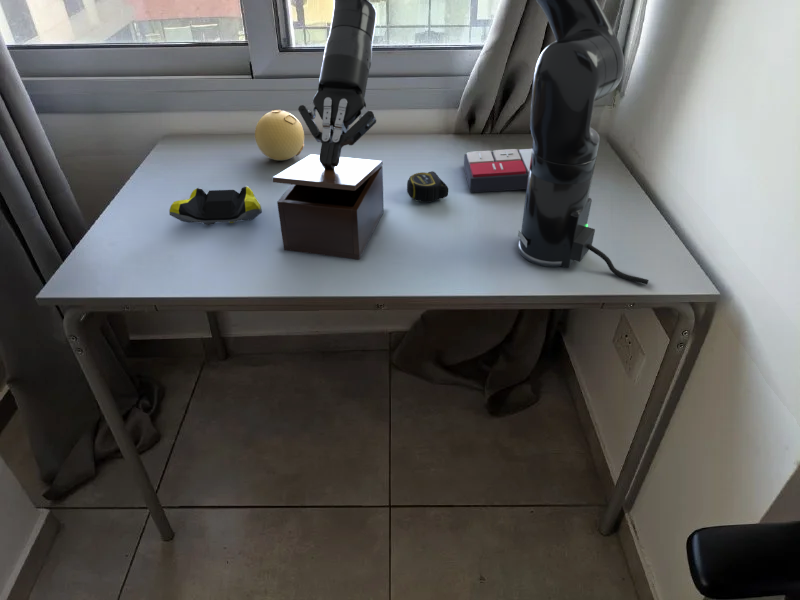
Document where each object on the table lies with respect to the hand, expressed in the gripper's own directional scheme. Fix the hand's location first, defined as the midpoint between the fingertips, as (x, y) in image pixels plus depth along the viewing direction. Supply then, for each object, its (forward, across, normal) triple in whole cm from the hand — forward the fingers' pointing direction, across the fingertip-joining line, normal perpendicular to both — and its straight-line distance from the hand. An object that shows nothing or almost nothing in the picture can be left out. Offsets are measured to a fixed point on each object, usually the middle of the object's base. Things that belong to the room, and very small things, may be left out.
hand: (328, 167), depth 97 cm
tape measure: (-3, +13, +21) cm, 25 cm away
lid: (0, 0, +2) cm, 2 cm away
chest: (+8, 0, +10) cm, 12 cm away
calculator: (-10, +26, +28) cm, 40 cm away
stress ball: (-10, -20, +28) cm, 35 cm away
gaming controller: (+9, -20, +9) cm, 24 cm away
